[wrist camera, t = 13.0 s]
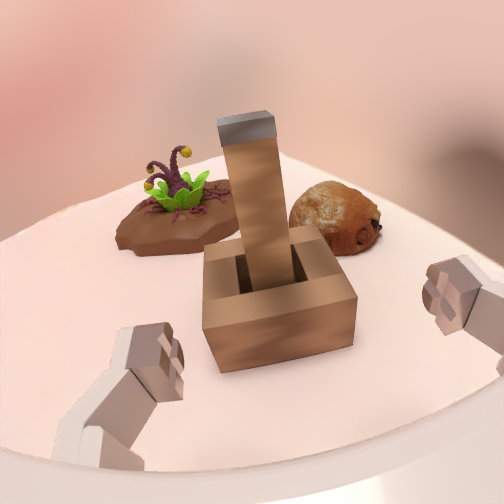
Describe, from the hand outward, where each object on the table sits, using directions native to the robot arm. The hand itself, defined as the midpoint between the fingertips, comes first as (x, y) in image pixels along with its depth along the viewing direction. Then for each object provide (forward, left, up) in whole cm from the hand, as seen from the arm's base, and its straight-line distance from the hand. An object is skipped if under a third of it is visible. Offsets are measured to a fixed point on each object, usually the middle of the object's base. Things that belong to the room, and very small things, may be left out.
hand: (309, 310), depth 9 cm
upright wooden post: (0, +12, -12) cm, 17 cm away
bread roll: (+9, +22, -13) cm, 27 cm away
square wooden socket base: (0, +12, -12) cm, 17 cm away
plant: (-9, +34, -13) cm, 38 cm away
